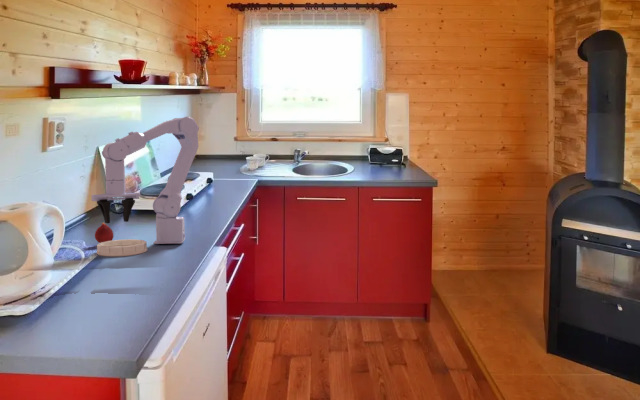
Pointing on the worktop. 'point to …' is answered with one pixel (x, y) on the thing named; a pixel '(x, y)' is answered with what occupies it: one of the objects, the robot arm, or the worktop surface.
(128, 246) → the dish
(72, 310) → the worktop surface
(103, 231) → the onion
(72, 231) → the worktop surface
